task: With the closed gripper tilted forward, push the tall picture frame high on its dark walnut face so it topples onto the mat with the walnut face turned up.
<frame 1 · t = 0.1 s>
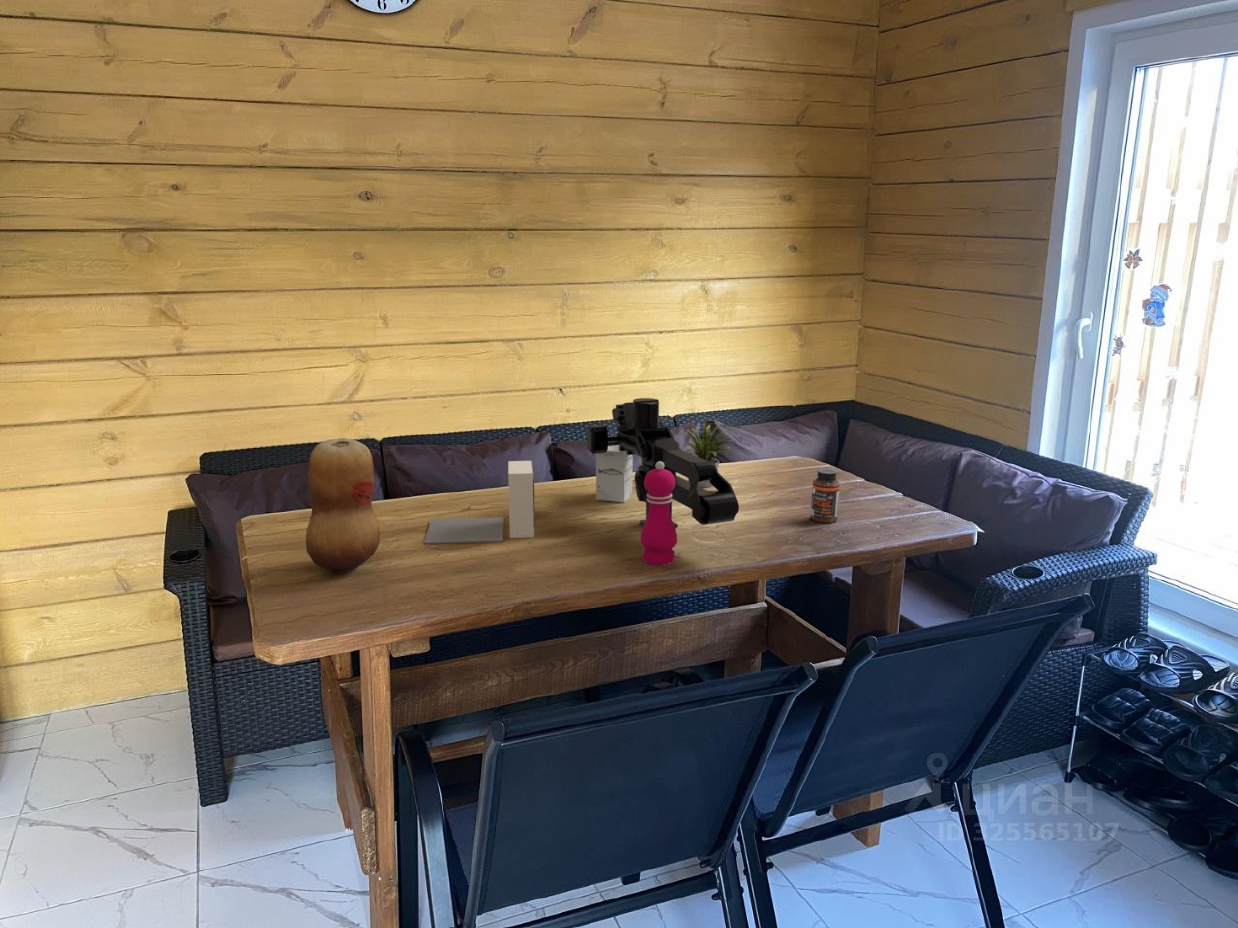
hand: (611, 429, 229), 17 cm above the table, tool horizontal, fingers open, 9 cm apart
supplement box: (614, 498, 232), on the table
house plant: (702, 486, 243), on the table
pepper mill: (658, 560, 189), on the table
supplement bottle: (823, 520, 215), on the table
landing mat: (465, 531, 206), on the table
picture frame: (521, 529, 207), on the table
butternut squash: (346, 569, 184), on the table
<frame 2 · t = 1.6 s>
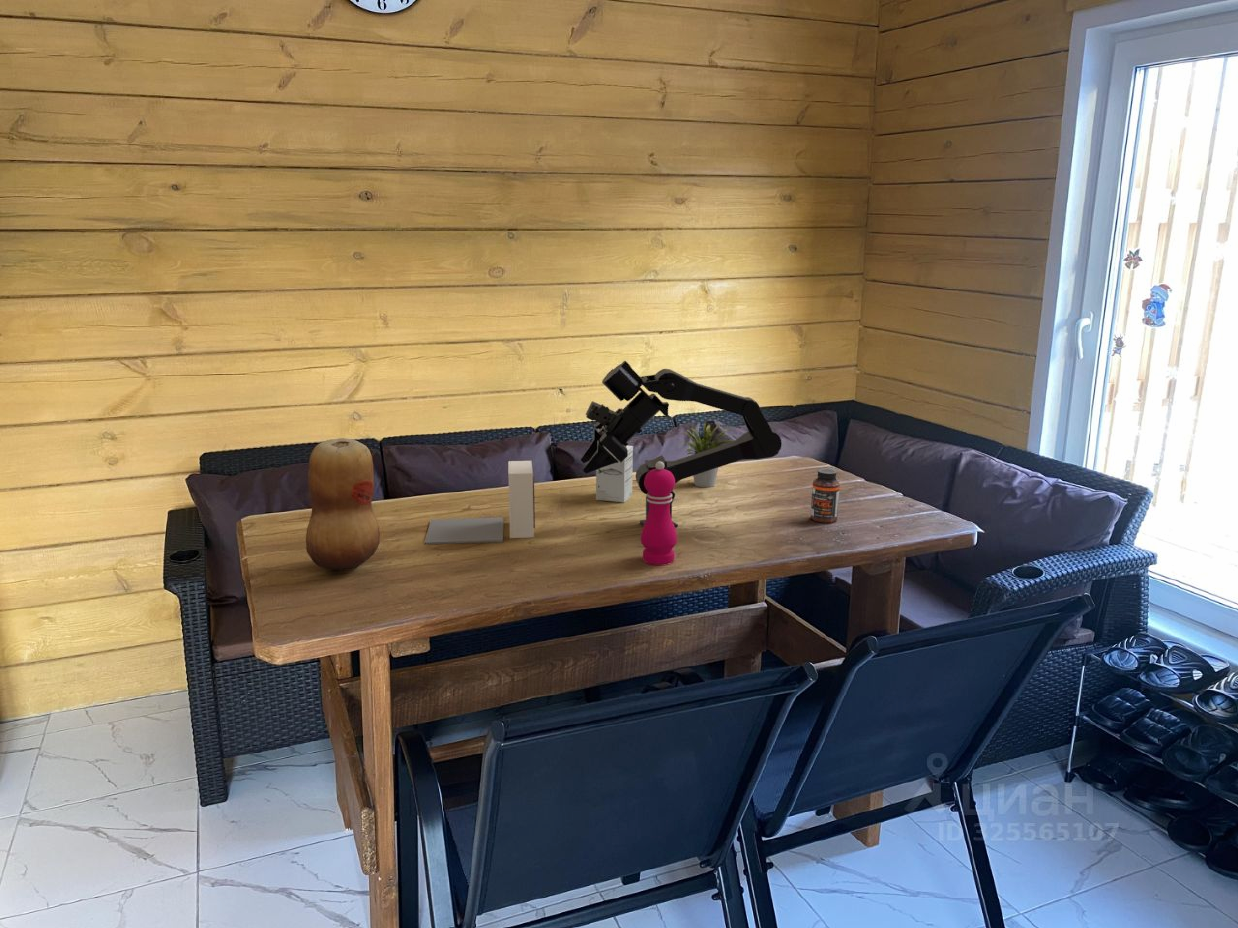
hand: (583, 466, 206), 14 cm above the table, tool tilted 45°, fingers open, 9 cm apart
nothing on the table moved.
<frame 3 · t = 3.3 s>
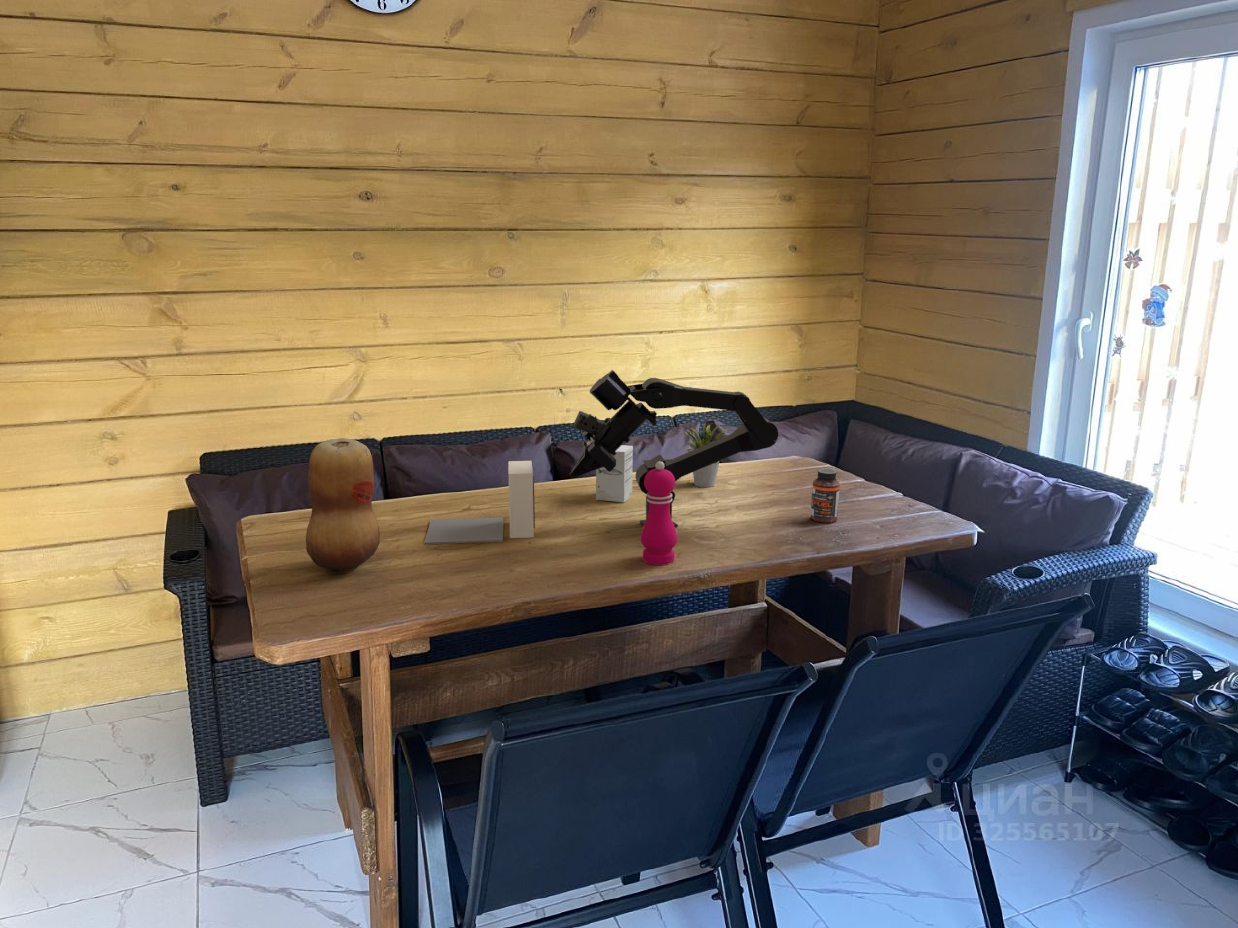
hand: (571, 476, 206), 12 cm above the table, tool tilted 45°, fingers closed
nothing on the table moved.
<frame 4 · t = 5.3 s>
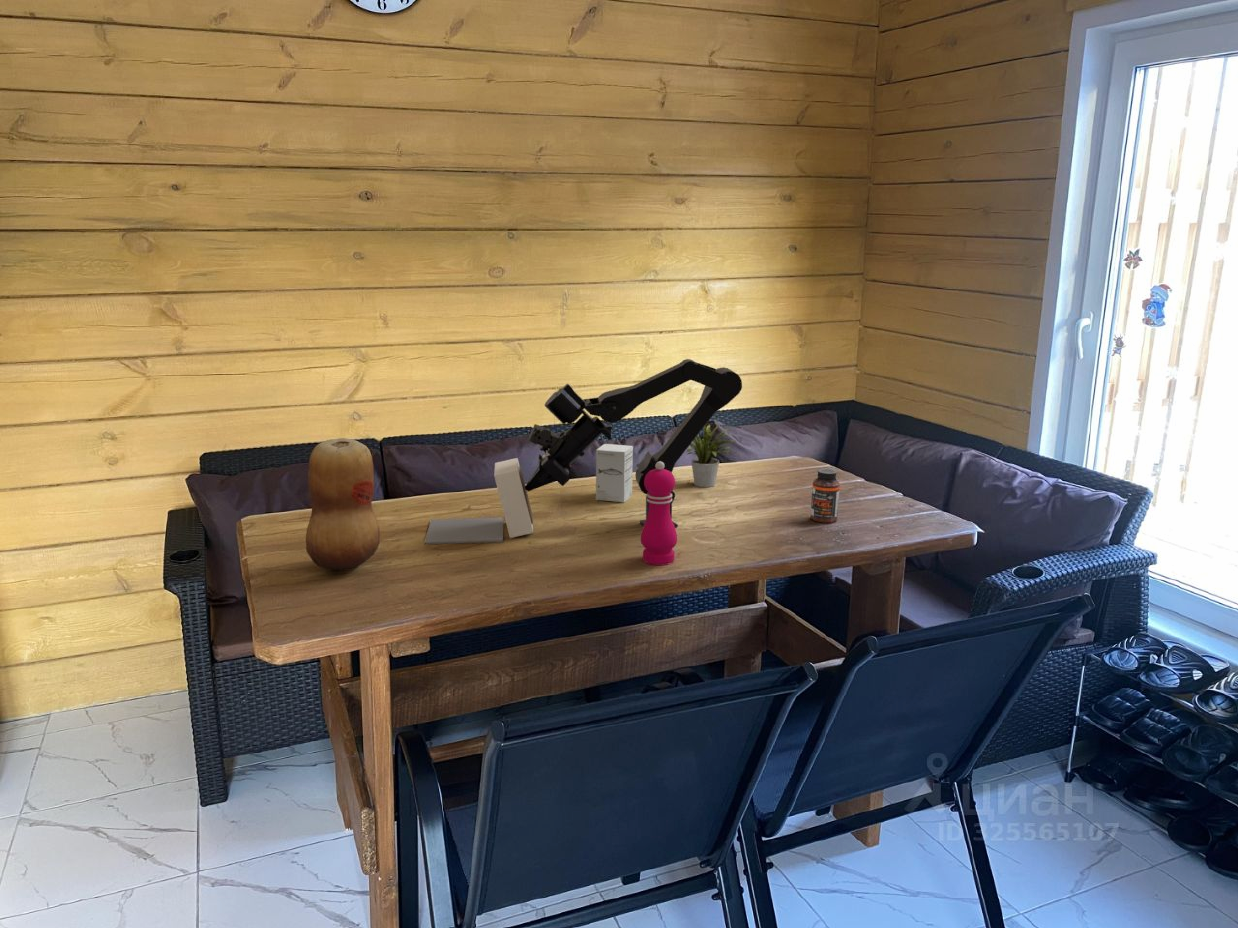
hand: (526, 489, 205), 9 cm above the table, tool tilted 45°, fingers closed
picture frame: (521, 527, 207), on the table, tilted 12°
everything else where it was.
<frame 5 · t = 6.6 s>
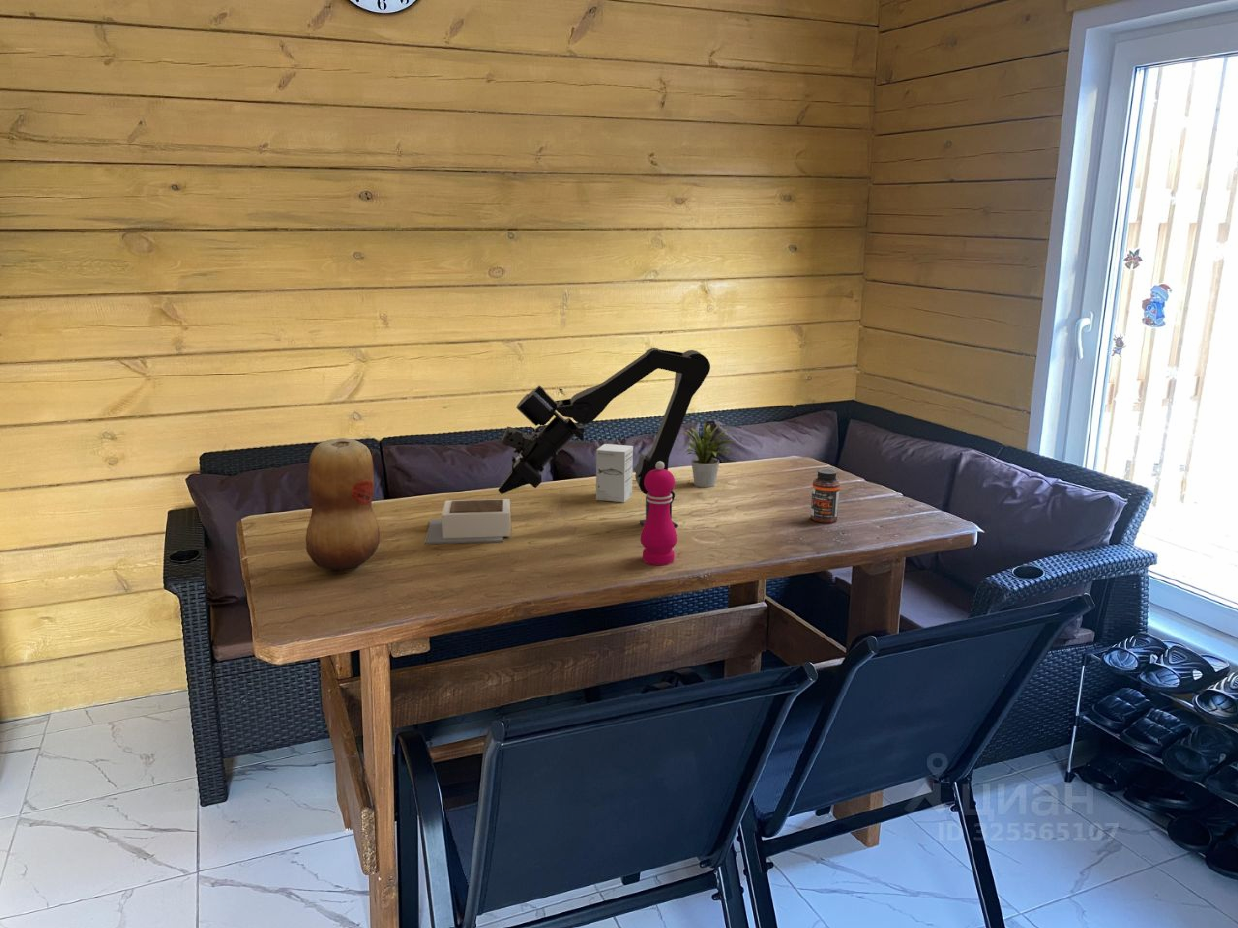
hand: (500, 491, 205), 9 cm above the table, tool tilted 45°, fingers closed
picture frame: (509, 517, 206), point 3 cm above the table, tilted 90°, touching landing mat
everything else where it was.
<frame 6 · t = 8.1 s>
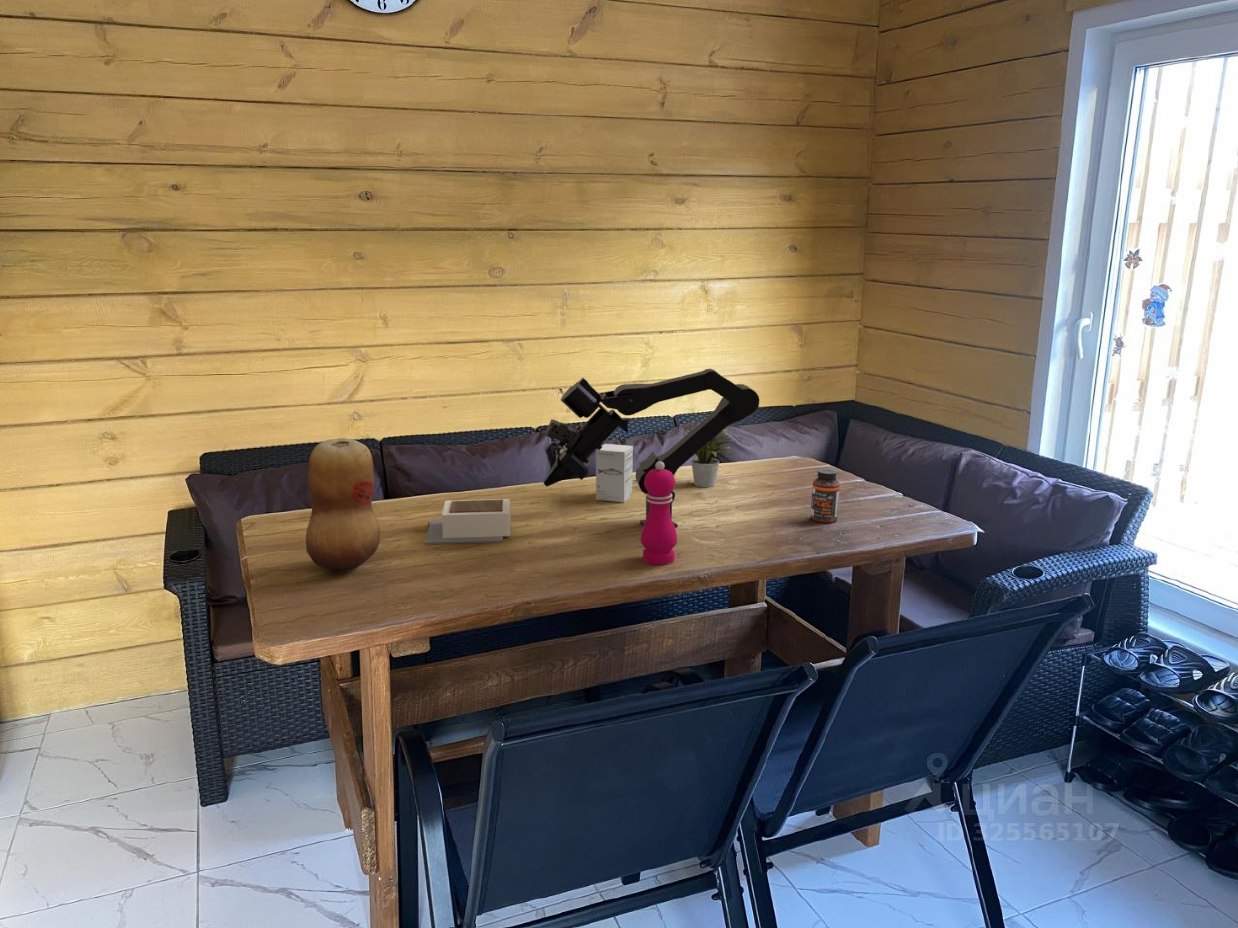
hand: (544, 484, 205), 10 cm above the table, tool tilted 45°, fingers closed
nothing on the table moved.
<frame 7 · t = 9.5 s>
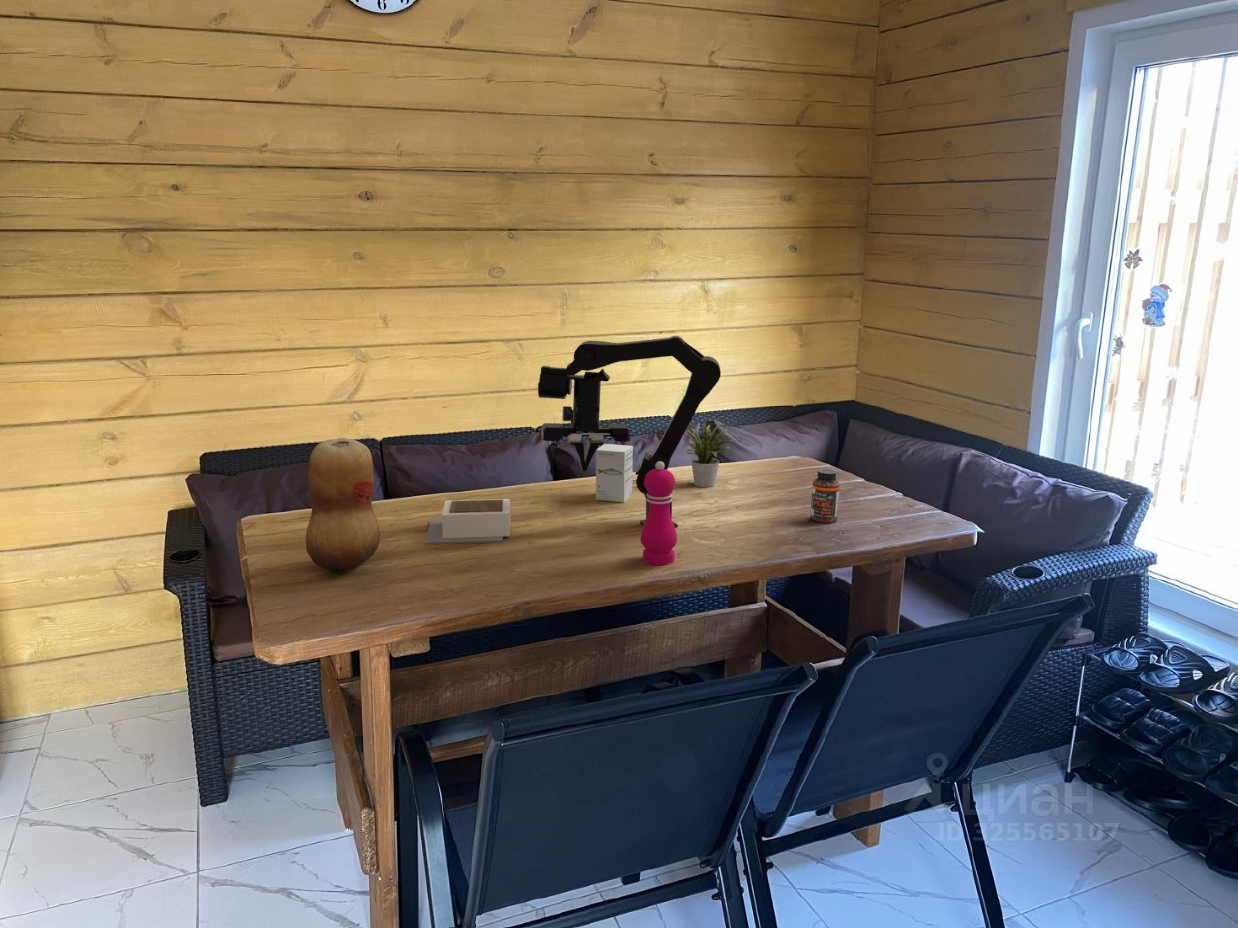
hand: (583, 470, 209), 12 cm above the table, tool pointing down, fingers closed
nothing on the table moved.
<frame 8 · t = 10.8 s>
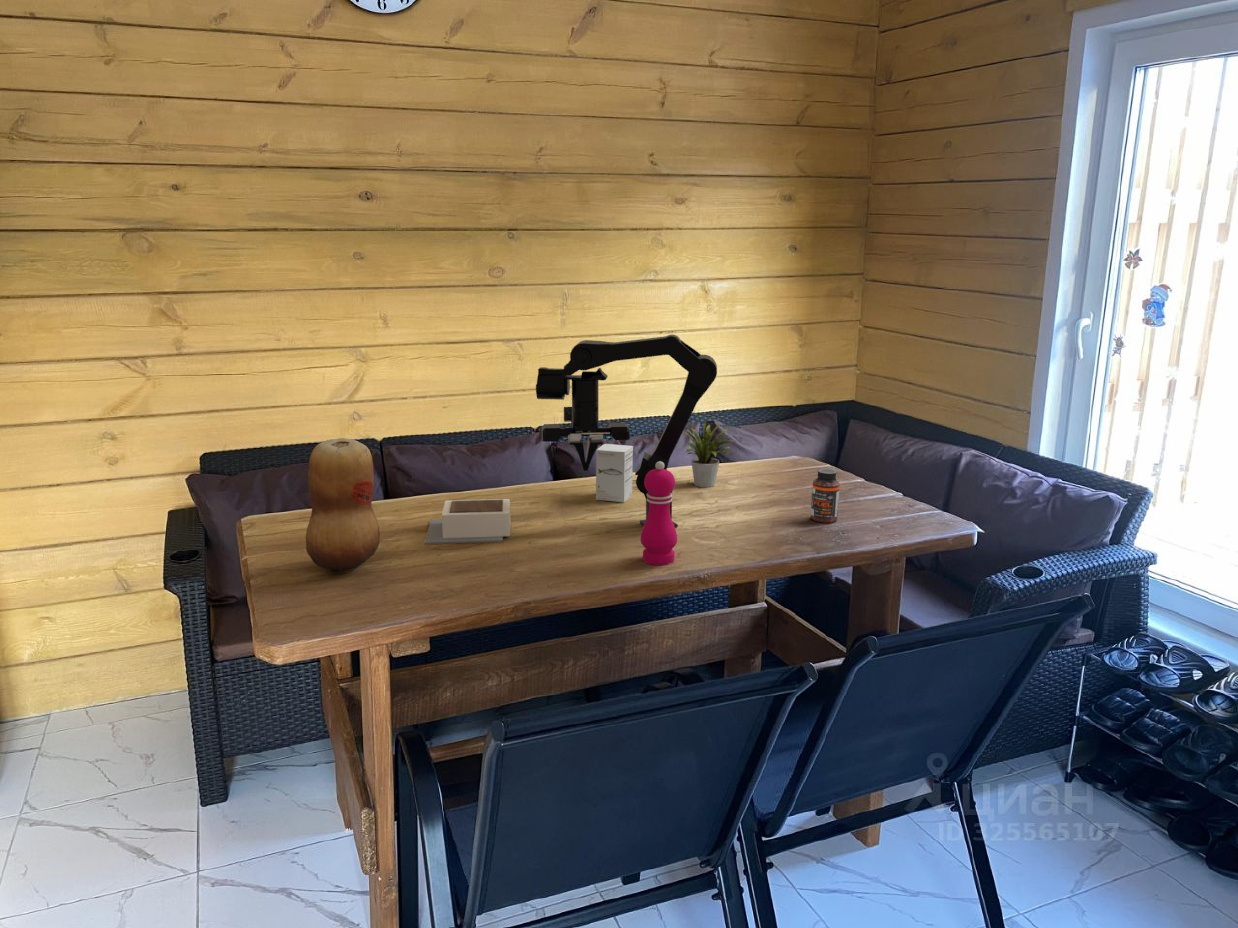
hand: (585, 470, 209), 12 cm above the table, tool pointing down, fingers closed
nothing on the table moved.
at the end: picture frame tilted 90°; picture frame touching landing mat; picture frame inside the target area (2.4 cm from its centre), point 2.9 cm above the table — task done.
